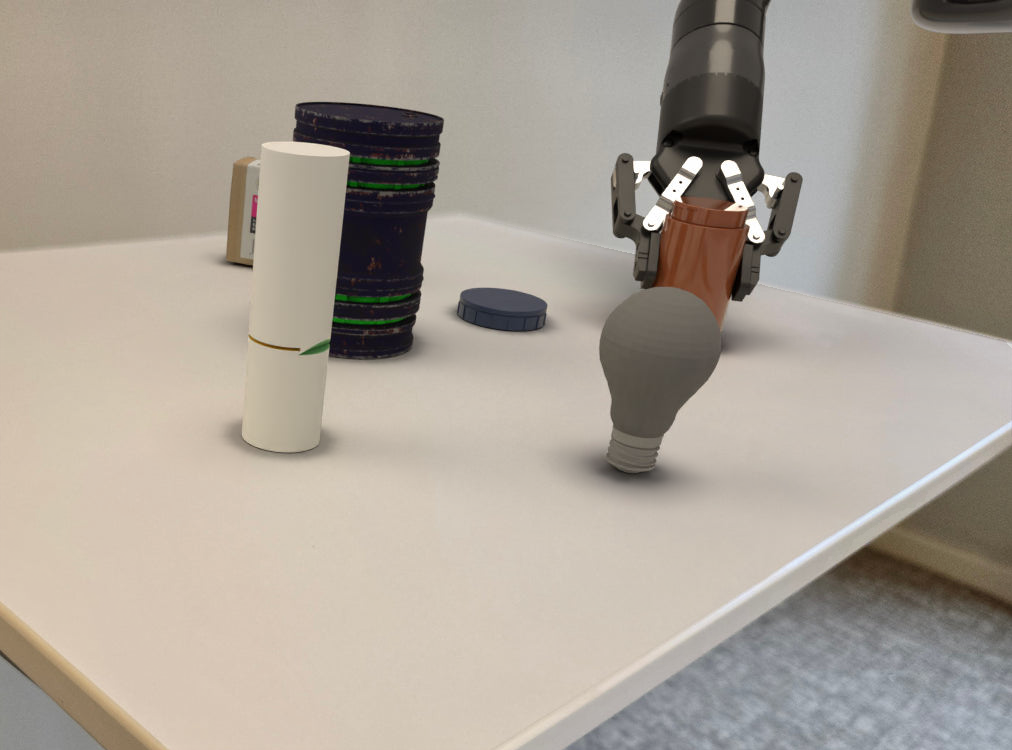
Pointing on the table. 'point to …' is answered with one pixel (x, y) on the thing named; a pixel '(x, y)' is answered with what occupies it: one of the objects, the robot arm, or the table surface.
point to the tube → (293, 293)
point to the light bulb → (654, 368)
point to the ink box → (243, 211)
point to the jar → (703, 250)
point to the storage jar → (378, 219)
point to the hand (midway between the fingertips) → (694, 289)
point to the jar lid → (502, 309)
